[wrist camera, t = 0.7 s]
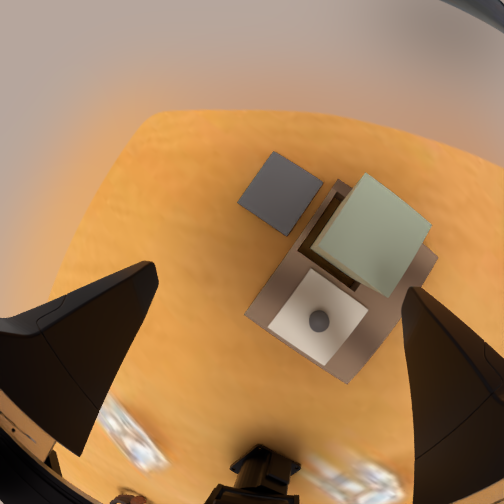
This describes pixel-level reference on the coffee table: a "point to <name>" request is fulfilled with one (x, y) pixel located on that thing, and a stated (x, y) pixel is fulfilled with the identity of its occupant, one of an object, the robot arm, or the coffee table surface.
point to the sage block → (372, 236)
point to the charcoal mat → (280, 193)
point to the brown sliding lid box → (331, 306)
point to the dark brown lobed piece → (128, 499)
